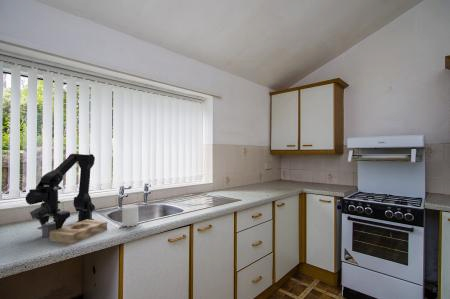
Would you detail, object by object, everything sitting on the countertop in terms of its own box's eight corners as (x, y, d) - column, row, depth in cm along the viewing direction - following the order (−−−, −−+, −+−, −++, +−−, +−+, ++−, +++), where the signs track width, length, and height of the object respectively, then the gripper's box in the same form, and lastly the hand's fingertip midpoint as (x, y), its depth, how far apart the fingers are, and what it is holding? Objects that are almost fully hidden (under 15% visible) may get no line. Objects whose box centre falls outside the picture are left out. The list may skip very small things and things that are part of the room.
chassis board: (86, 226, 130) (86, 219, 130) (107, 229, 125) (106, 221, 125) (49, 240, 111) (49, 231, 111) (71, 243, 106) (71, 234, 106)
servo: (58, 231, 123) (58, 218, 123) (63, 232, 121) (63, 218, 121) (37, 238, 113) (37, 224, 113) (43, 239, 112) (43, 225, 112)
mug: (118, 223, 136) (117, 205, 136) (132, 219, 141) (132, 202, 141) (125, 228, 127) (125, 209, 127) (140, 224, 132) (140, 206, 132)
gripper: (19, 202, 112) (20, 234, 113) (47, 205, 107) (48, 239, 107) (44, 197, 123) (44, 227, 123) (70, 199, 117) (71, 231, 117)
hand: (51, 231), depth 117 cm, fingers open, 9 cm apart
